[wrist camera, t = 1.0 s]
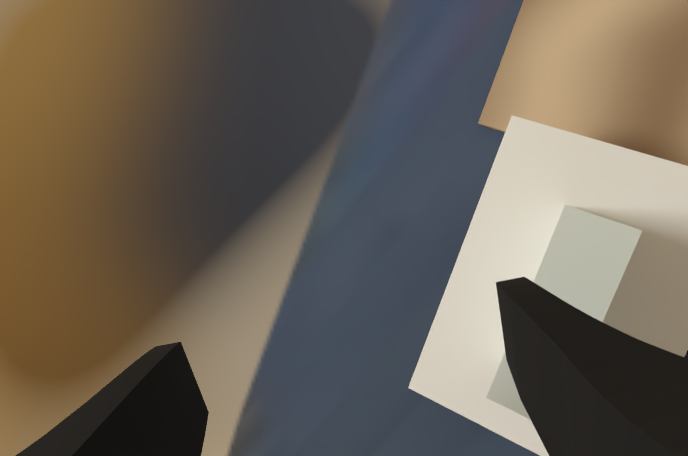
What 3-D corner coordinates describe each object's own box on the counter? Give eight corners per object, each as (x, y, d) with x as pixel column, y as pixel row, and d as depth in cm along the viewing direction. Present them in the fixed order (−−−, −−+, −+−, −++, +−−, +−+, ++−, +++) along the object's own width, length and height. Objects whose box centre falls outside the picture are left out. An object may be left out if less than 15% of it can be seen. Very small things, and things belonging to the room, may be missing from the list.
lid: (750, 189, 17) (808, 181, 13) (616, 476, 19) (626, 558, 15) (516, 121, 20) (497, 95, 16) (418, 377, 22) (375, 420, 17)
